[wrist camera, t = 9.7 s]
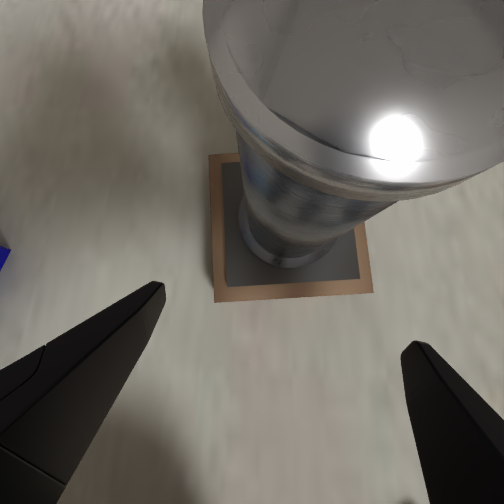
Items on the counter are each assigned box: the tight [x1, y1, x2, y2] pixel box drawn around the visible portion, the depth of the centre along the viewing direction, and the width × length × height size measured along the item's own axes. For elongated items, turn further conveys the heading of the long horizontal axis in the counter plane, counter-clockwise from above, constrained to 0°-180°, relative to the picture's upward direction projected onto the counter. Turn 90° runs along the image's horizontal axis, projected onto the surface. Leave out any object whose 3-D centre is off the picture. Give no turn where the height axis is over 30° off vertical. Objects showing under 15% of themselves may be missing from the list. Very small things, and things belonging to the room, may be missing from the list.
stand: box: [209, 153, 374, 303], centre depth 18 cm, size 11×11×3 cm
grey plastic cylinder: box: [203, 0, 504, 269], centre depth 10 cm, size 7×7×13 cm
